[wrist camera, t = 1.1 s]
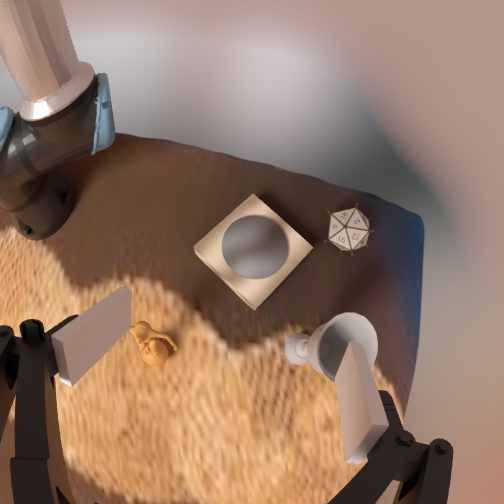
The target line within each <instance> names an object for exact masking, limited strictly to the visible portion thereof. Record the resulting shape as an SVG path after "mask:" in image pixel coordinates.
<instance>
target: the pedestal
mask: <svg viewBox="0 0 504 504" xmlns="http://www.w3.org/2000/svg"><path fill="white" fill-rule="evenodd" d="M312 248H313V247H312V246H311V245H310V244H309V243H308V242H307V241H306V240H305V239H304V238H302V237H301V236H300V235H299V234H298V233H297V232H296V231H295V230H294V229H293V228H291V227H290V226H289V225H288V224H287V223H286V222H285V221H284V220H283V219H281V218H280V217H279V216H278V215H277V214H276V213H275V212H274V211H272V210H271V209H270V208H269V207H268V206H267V205H266V204H264V203H263V202H262V201H261V200H260V199H259V198H258V197H256V196H255V195H254V194H252V195H251V196H250V197H249V198H247V199H246V200H245V201H244V202H243V203H242V204H241V205H239V206H238V207H237V208H236V209H235V210H234V211H233V212H232V213H230V214H229V215H228V216H227V217H226V218H225V219H224V220H223V221H221V222H220V223H219V224H218V225H217V226H216V227H215V228H214V229H212V230H211V231H210V232H209V233H208V234H207V235H206V236H205V237H204V238H203V239H201V240H200V241H199V242H198V243H197V244H196V245H195V246H194V250H195V254H196V255H197V256H198V257H199V258H200V259H201V260H202V261H203V262H204V263H205V264H206V265H207V266H208V267H209V268H210V269H211V270H212V271H213V272H214V273H215V274H216V275H217V276H219V277H220V278H221V279H222V280H223V281H224V282H225V283H226V284H227V285H228V286H229V287H230V288H231V289H232V290H233V291H234V292H235V293H236V294H237V295H238V296H239V297H240V298H241V299H242V300H243V301H244V302H246V303H247V304H248V305H249V306H250V307H251V308H252V309H253V310H254V311H255V310H256V308H257V307H258V306H259V305H260V304H261V303H262V302H263V301H264V300H265V299H266V298H267V297H268V296H269V295H270V294H271V293H272V292H273V291H274V290H275V288H276V287H277V286H278V285H279V284H280V283H281V282H282V281H283V280H284V279H285V278H286V277H287V276H288V275H289V273H290V272H291V271H292V270H293V269H294V268H295V267H296V266H297V265H298V264H299V263H300V262H301V260H302V259H303V258H304V257H305V256H306V255H307V254H308V253H309V252H310V251H311V249H312Z"/></svg>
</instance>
